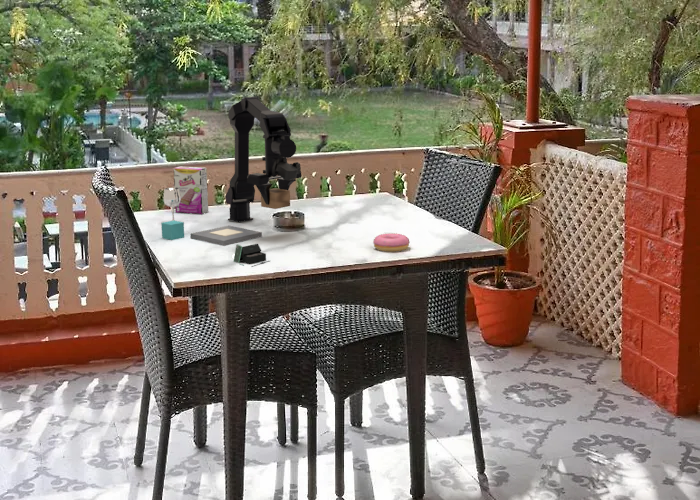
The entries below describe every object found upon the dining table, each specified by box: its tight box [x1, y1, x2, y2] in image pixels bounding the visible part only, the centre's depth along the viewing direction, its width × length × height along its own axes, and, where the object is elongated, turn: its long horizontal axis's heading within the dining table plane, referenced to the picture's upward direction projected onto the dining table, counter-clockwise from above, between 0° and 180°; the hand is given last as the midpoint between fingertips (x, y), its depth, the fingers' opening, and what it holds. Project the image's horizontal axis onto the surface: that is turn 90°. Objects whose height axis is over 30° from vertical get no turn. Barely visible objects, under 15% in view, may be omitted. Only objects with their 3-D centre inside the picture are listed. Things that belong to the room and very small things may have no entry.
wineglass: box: [163, 187, 181, 221], centre depth 325 cm, size 6×6×12 cm
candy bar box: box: [172, 165, 209, 215], centre depth 342 cm, size 11×5×16 cm, turn 71°
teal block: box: [160, 219, 185, 241], centre depth 304 cm, size 5×5×5 cm
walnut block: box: [260, 187, 291, 210], centre depth 302 cm, size 6×6×5 cm
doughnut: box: [372, 233, 411, 253], centre depth 287 cm, size 11×11×4 cm
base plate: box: [189, 225, 263, 247], centre depth 303 cm, size 16×16×2 cm
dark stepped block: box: [232, 243, 270, 268], centre depth 273 cm, size 15×15×6 cm
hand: (275, 203), depth 302 cm, fingers closed on walnut block, 6 cm apart
